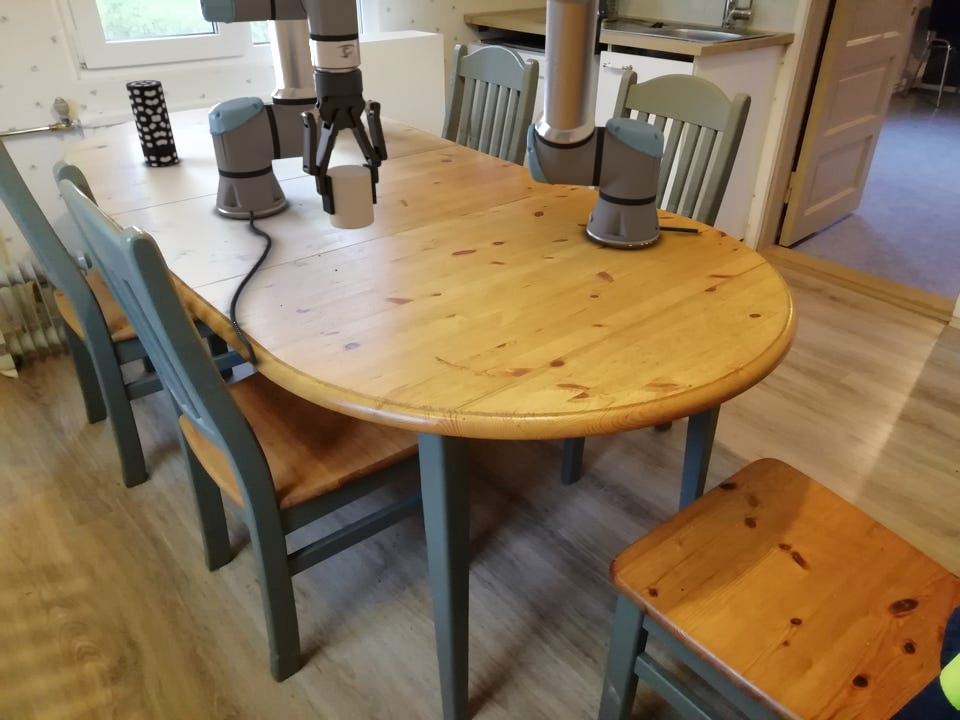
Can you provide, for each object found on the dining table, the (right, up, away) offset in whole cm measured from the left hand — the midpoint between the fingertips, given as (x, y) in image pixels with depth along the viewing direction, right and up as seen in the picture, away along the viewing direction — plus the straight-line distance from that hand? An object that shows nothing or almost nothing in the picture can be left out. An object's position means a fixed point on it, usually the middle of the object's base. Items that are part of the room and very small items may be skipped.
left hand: (350, 206), depth 121 cm
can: (0, -2, +1) cm, 3 cm away
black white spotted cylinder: (-63, +35, +60) cm, 94 cm away
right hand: (+45, +44, +37) cm, 73 cm away
